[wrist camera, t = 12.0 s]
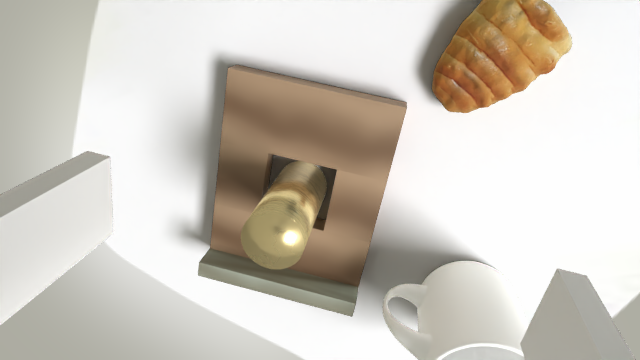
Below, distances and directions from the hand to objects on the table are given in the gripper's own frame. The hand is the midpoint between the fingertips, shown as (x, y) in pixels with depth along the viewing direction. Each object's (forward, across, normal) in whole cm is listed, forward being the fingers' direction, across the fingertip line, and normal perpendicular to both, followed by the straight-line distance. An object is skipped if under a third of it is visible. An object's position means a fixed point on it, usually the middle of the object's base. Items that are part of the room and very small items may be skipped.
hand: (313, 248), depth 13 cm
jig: (+24, -5, -10) cm, 26 cm away
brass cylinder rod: (+24, -4, -10) cm, 26 cm away
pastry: (+25, +8, +4) cm, 26 cm away
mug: (+24, +10, -17) cm, 31 cm away
